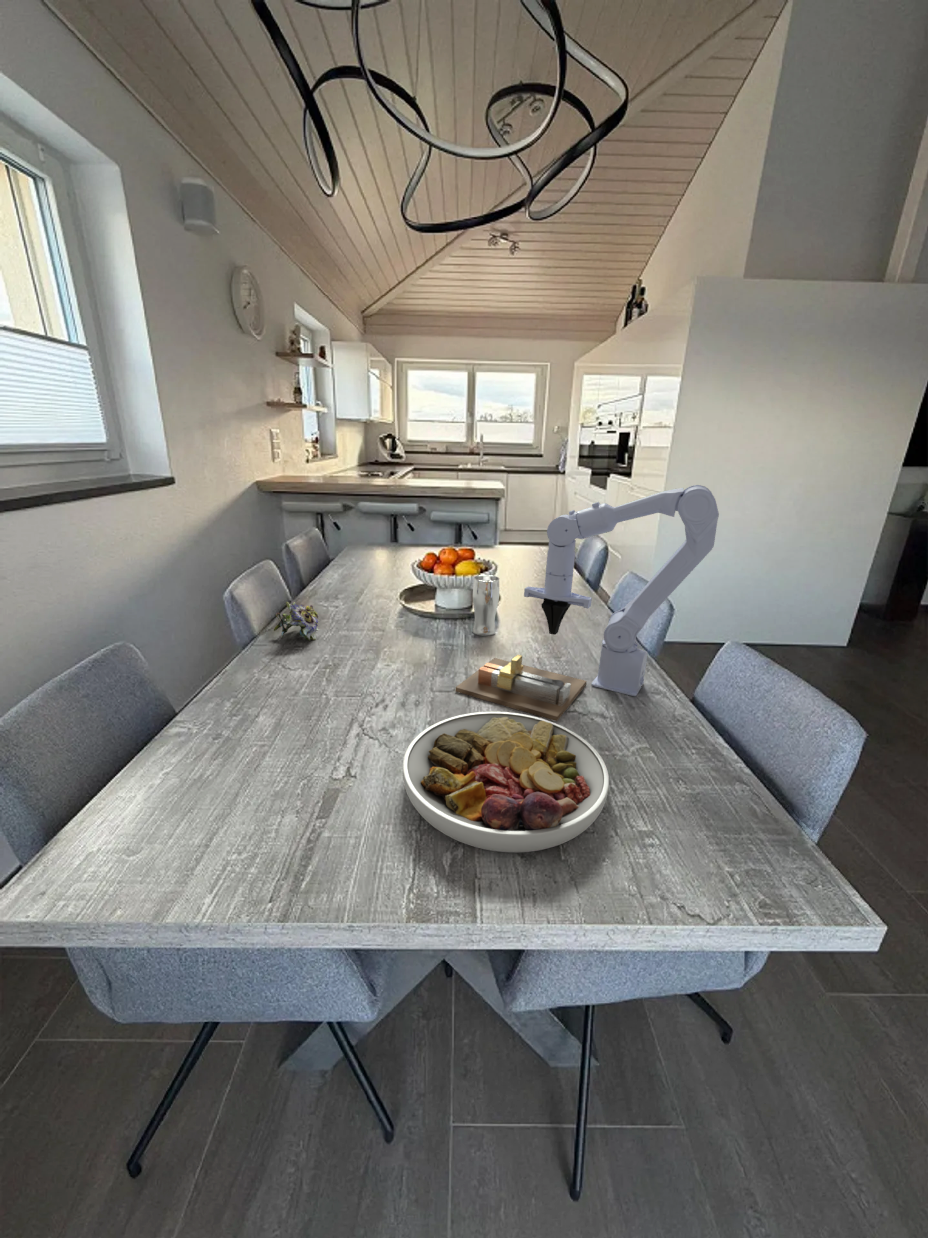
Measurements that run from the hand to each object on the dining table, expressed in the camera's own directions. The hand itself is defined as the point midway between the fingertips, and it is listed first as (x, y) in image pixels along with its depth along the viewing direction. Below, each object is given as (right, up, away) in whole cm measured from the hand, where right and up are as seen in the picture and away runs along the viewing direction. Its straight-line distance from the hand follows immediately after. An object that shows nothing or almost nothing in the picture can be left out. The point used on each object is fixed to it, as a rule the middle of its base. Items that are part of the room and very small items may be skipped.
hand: (553, 633), depth 116 cm
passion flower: (-62, -2, +17) cm, 64 cm away
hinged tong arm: (-8, -11, -7) cm, 15 cm away
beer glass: (-14, -1, +26) cm, 29 cm away
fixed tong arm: (-8, -12, -8) cm, 16 cm away
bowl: (-14, -23, -36) cm, 45 cm away
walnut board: (-7, -11, -5) cm, 15 cm away
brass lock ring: (-10, -10, -8) cm, 16 cm away
